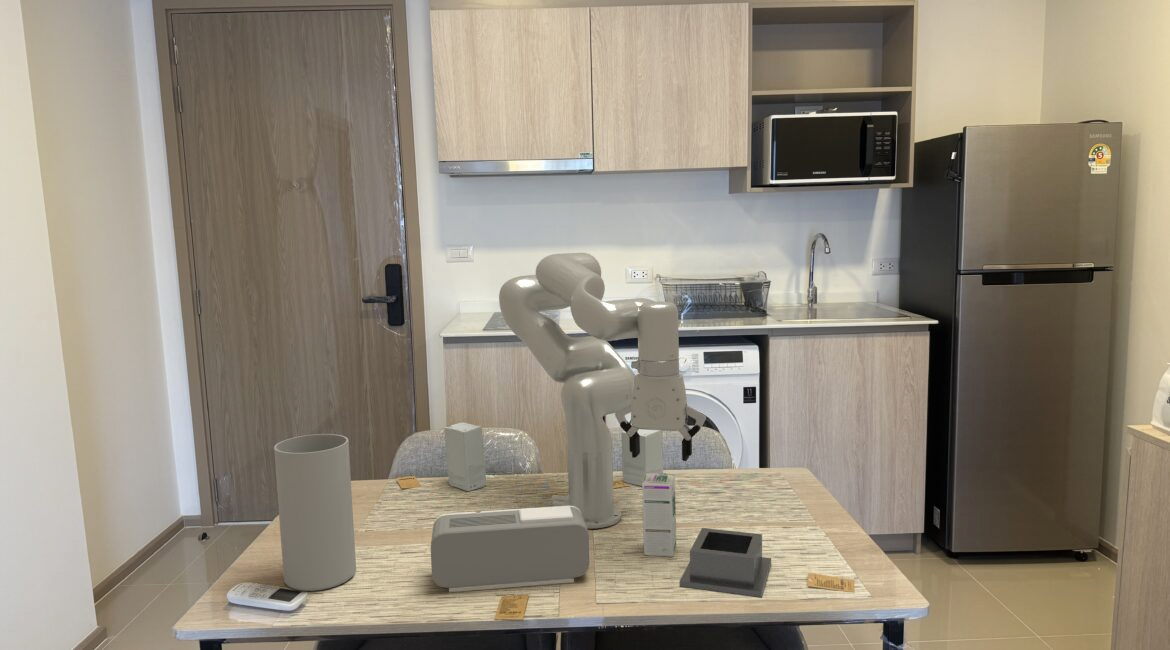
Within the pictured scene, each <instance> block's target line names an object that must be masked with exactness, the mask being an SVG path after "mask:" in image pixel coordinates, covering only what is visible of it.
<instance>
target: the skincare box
mask: <svg viewBox="0 0 1170 650" xmlns="http://www.w3.org/2000/svg"><path fill="white" fill-rule="evenodd" d="M444 438H445V439H444V440H445V441H444V442H445V453H446V463H447V464H446V465H447V466H446V467H447V474H448V475H447V476H448V485H449V486H451V487H454V488H457V489H460V490H462V491H463V490H464V491H467V492H471V491H473V490H474V491H475V490H477V489H482V488H484V487H487V473H486V460H485V451H484V439H483V426H482V425H476V424H471V423H467V422H464V421H463V422H459V423H455V424H452V425H447V426H445V427H444Z"/></svg>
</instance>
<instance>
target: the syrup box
mask: <svg viewBox="0 0 1170 650" xmlns="http://www.w3.org/2000/svg"><path fill="white" fill-rule="evenodd" d="M675 476H676V475H675V474H673V473H664V472H663V473H650V474H646V477H645V478H644V480H643V483H642V486H641V488H642V489H641V490H642V494H641V495H642V496H641V497H642V526H643V527H642V528H643V554H644V555H646V556H652V557H653V556H655V557H669V558H670V557H672V558H673V557H674V555H675V551H676V549H677V548H676V547H677V518H676V516H677V513H676V512H677V509H676V507H677V506H676V477H675Z"/></svg>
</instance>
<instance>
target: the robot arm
mask: <svg viewBox="0 0 1170 650" xmlns="http://www.w3.org/2000/svg"><path fill="white" fill-rule="evenodd" d="M605 286H606V285H605V283H604V280H603V277H602V268H601V265H600V263H599V261H598V260H597V258H595V257H594V255H592V254H590V253H587V252H567V253H565V252H564V253H554V254H549V255H547V256H544V257H543V258H542V259H541V260H540V261H539V262H538V264H537V265H536V267H535V274H532V275H531V274H527V275H520V276H516V277H512V278H511V279H508V280H507V281H505V282H504V283H503V285H502V286H501V287H500V290H499V293H498V303H499V307H500V308H499V309H500V312H501V315H502V317H503V320H504V322H505V323H506V325H507V327H508V328H509V329H510V330H511V332H512V333H513V334H514V335H515V336H516V337H517V338H518V339H519V340H520V341H522V343H524V345H525V346H526V347H527V349H528V350H529V351H530V352H531V354H532V355H533V357H534V358H535V360H536V361H538V363H539V364H540V366H541V367H542V368H543V370H544V371H545V372H546V373H547V375H548V376H549V377H550V378H551V379H552V381H554V382H556V383H559V384H563V385H562V387H561V393H560V397H561V398H560V399H561V404H562V408H563V414H564V419H565V425H566V426H565V427H566V443H567V444H566V445H567V446H566V447H567V475H568V476H567V477H568V478H567V479H568V480H567V481H568V485H567V486H568V494H566V495H565V496H562V495H559V494H552V496H551V504H552V507H554V506H575V507H577V508H578V509H579V510H580V511H581V513H582V516H583V519H584V521H585V524H586V527H587V529H589V530H590V529H603V528H608V527H610V526H614V525H615V524H617V523H619V521H621V519H622V513H621V510H620V509H619V508H617V507H616V506H614V464H613V463H614V461H613V460H614V459H613V458H614V457H613V437H612V432H611V430H610V428H609V426H608V425H607V424H606V422H605V421H604V419H603V418H604V416H607V415H613V414H614V415H615V418H616V420H617V421H618V424H619V427H620V428H621V429H622V431H625V432H626V433H627V436H628V437H629V447H630V452H632V458H635V457H637V456H638V455H639V454H640V435H639V433H638V432H637V431H638V430H639V429H646V430H662V431H666V432H667V431H669V432H676V431H677V432H679V433H680V434H681V436H682V437H683V438H682V440H681V461H683V462H687V461H688V460H689V458H690V457H691V456H692V455H693V454H692V453H693V437H694V436H695V435H697V433H699V431H700V430H702V427H703V425H704V423H705V421H706V420H707V416H706V415H705V414H704V413H702V412H700V411H698V410H696V409H695V408H693V407H691V406H689V405H688V400H687V391H686V385H685V380H684V376H683V374H681V373H680V348H679V347H680V346H679V345H680V344H679V343H680V342H679V341H680V340H679V338H680V337H679V336H680V335H679V308H678V306H677V305H676V304H675V303H674V302H670V301H655V300H652V299H649V298H644V297H642V298H641V297H637V298H636V297H635V298H626V299H614V300H608V301H605V300H603V298H604V294H605V291H606V290H605V289H606V288H605ZM569 307H570V308H569ZM567 308H569V309H570V313H571V316H572V318H573V320H574V323H575V324H576V326H577V327H578V328H580V330H583V331H584V332H585V333H587V334H588V335H589V336H579V337H572V336H569V335H568V334H567V333H566V332H565V331H564V330H563V328H562V327H561V326H560V324H558V323H557V322H556V321H555V320H553V319H552V318H551V317H548V316H546V315H544V314H543V313H541V312H551V311H558V310H560V311H561V310H565V309H567ZM635 338H637V347H638V348H637V351H638V358H637V360H635V361H633V360H632V361H631V362H630V365H631V366H629V365H628V364H627V363H626V362H625V360H624V359H623V357H622V356H620V354H619V353H618V352H617V351H616V349H615V348H614V347H613V346H612V345H611V344H610V342H612V341H619V340H625V339H635ZM632 369H635V370H636V371H637V374H635V372H634V371H633V370H632ZM628 414H630V422H631V423H630V422H629V421H628V420H627V418H626V415H628ZM688 416H689V417H690V418H693V419H694V420H695V424H694V426H692V427H690V426H689V425H688V419H689V417H688Z"/></svg>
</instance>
